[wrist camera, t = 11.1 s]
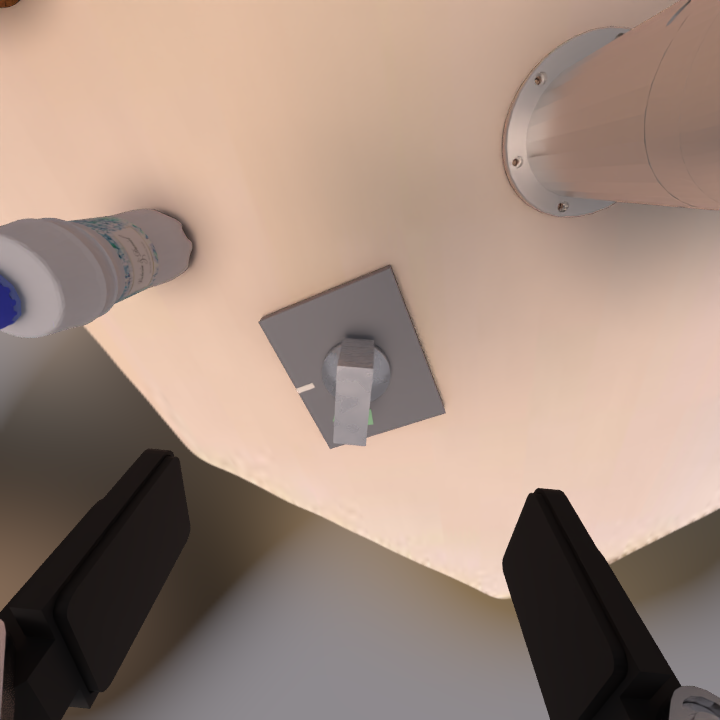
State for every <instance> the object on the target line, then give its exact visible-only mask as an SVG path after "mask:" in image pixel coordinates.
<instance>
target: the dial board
mask: <svg viewBox="0 0 720 720" xmlns="http://www.w3.org/2000/svg"><path fill="white" fill-rule="evenodd" d="M259 324H260V326H261V328H262V329H263V331H264V333H265V335H266V336H267V338H268V340H269V342H270V343H271V345H272V347H273V349H274V351H275V352H276V354H277V356H278V358H279V359H280V361H281V363H282V365H283V366H284V368H285V370H286V372H287V374H288V375H289V377H290V379H291V381H292V382H293V384H294V386H295V388H296V390H297V392H298V393H299V395H300V397H301V398H302V400H303V402H304V404H305V405H306V407H307V409H308V411H309V412H310V414H311V416H312V418H313V419H314V421H315V423H316V425H317V427H318V428H319V430H320V432H321V434H322V435H323V437H324V439H325V441H326V442H327V444H328V446H329V448H330V449H332V448H335V447H338V446H341V445H344V444H336V443H333V435H334V415H335V397H334V396H333V395H331V394H330V393H329V391H328V390H327V389H326V387H325V385H324V383H323V380H322V367H323V363H324V360H325V357H326V355H327V354H328V352H329V351H330V350H331V349H332V348H333V347H334V346H336V345H337V344H339V343H341V342H342V341H343V338H353V339H365V340H374V345H376V346H377V347H379V348H380V349H381V350H382V351H383V352H384V354H385V355H386V357H387V358H388V361H389V364H390V374H391V375H390V382H389V385H388V387H387V389H386V390H385V392H384V393H383V394H382V395H381V396H380V397H379V398H377V399H376V400H374V401H372V402H370V408H369V418H368V428H367V437H370V436H373V435H377V434H380V433H383V432H386V431H390V430H393V429H396V428H399V427H402V426H406V425H409V424H412V423H415V422H419V421H422V420H425V419H428V418H432V417H435V416H438V415H441V414H444V413H446V412H445V409H444V405H443V403H442V400H441V398H440V395H439V392H438V390H437V387H436V384H435V382H434V379H433V377H432V374H431V371H430V369H429V366H428V363H427V361H426V358H425V355H424V353H423V350H422V348H421V345H420V342H419V340H418V337H417V334H416V332H415V329H414V327H413V324H412V321H411V319H410V316H409V313H408V311H407V308H406V305H405V303H404V300H403V298H402V295H401V292H400V290H399V287H398V284H397V282H396V279H395V277H394V274H393V271H392V269H391V266H390V265H388V266H386V267H384V268H381V269H379V270H376V271H374V272H371V273H369V274H366V275H364V276H362V277H359V278H357V279H354V280H352V281H349V282H347V283H345V284H342V285H340V286H337V287H335V288H332V289H330V290H327V291H325V292H323V293H320V294H318V295H315V296H313V297H310V298H308V299H305V300H303V301H301V302H298V303H296V304H293V305H291V306H288V307H286V308H284V309H281V310H279V311H276V312H274V313H271V314H269V315H266V316H264V317H262V318H261V320H260V321H259Z"/></svg>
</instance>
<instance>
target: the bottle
mask: <svg viewBox="0 0 720 720" xmlns="http://www.w3.org/2000/svg"><path fill="white" fill-rule="evenodd" d="M191 251H192V242H191V241H190V240H189V239H188V238H187V237H186V235H185V234H184V232H183V230H182V224H181V223H180V222H179V221H178V220H176V219H175V218H172V217H170V216H167V215H165V214H162V213H160V212H158V211H156V210H153V209H140V210H133V211H128V212H124V213H120V214H116V215H112V216H105V217H97V218H89V219H81V220H73V221H65V220H61V219H57V218H41V219H32V218H31V219H21V220H17V221H14V222H12V223H9V224H6V225H3V226H0V331H3V332H5V333H8V334H11V335H14V336H18V337H24V338H37V337H42V336H46V335H50V334H52V333H56V332H60V331H63V330H67V329H70V328H74V327H78V326H83V325H86V324H88V323H90V322H92V321H93V320H95V319H96V318H98V317H100V316H102V315H104V314H105V313H107V312H108V311H109V310H110V309H111V308H112V306H113V305H114V304H115V303H117V302H120V301H122V300H124V299H126V298H128V297H130V296H133V295H135V294H137V293H139V292H141V291H143V290H145V289H147V288H150V287H153V286H157V285H160V284H163V283H165V282H168V281H171V280H173V279H175V278H176V277H178V276H179V275H181V274H182V273H183V272H184V271H185V270H186V269H187V268H188V266H189V257H190V253H191Z"/></svg>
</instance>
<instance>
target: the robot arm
mask: <svg viewBox="0 0 720 720" xmlns="http://www.w3.org/2000/svg"><path fill="white" fill-rule="evenodd" d="M535 78H539V84H538V85H536V83H535ZM514 159H516V160H517V164H516V165H515V166H513V165H512V161H513V160H514ZM503 160H504V166H505V171H506V174H507V176H508V179H509V181H510V184H511V186H512V187H513V189H514V190H515V192H516V193H517V195H518V196H519V197H520V198H521V199H522V200H523V201H524V202H525V203H526V204H527V205H529V206H531V207H532V208H534V209H536V210H538V211H539V212H543V213H546V214H549V215H553V216H558V217H579V216H584V215H589V214H593V213H595V212H598V211H600V210H603V209H605V208H608V207H609V206H611V205H613V204H614V203H616V202H627V203H638V204H650V205H661V206H672V207H684V208H695V209H706V210H720V0H680V1H678V2H677V3H675V4H673V5H672V6H670V7H668V8H667V9H665V10H663V11H662V12H660V13H658V14H657V15H655V16H653V17H652V18H650V19H648V20H647V21H645V22H643V23H642V24H640V25H638V26H637V27H635V28H633V29H630V28H625V27H613V26H610V27H604V28H597V29H592V30H590V31H587V32H584V33H582V34H579V35H577V36H575V37H573V38H571V39H570V40H568V41H566V42H565V43H563V44H561V45H560V46H558V47H557V48H556V49H554V50H553V51H552V52H551V53H549V54H548V55H547V56H546V57H545V58H544V59H543V60H542V61H541V62H540V63H539V64H538V65H537V66H536V67H535V68H534V69H533V70H532V71H531V73H530V74H529V75H528V77H527V78H526V79H525V81H524V82H523V84H522V85H521V86H520V88H519V90H518V92H517V94H516V96H515V98H514V100H513V102H512V104H511V107H510V110H509V113H508V116H507V119H506V123H505V128H504V134H503ZM559 203H561V207H560V208H559V209H558V205H559ZM189 533H190V521H189V515H188V509H187V503H186V497H185V491H184V485H183V479H182V472H181V466H180V461H179V458H178V457H174V454H173V452H172V451H168V450H159V449H147V450H145V451H144V452H143V453H142V454H141V456H140V457H139V458H138V459H137V460H136V461H135V463H134V464H133V465H132V466H131V467H130V468H129V470H128V471H127V472H126V473H125V474H124V475H123V476H122V477H121V479H120V480H119V481H118V482H117V483H116V484H115V486H114V487H113V488H112V489H111V490H110V491H109V492H108V494H107V495H106V496H105V497H104V498H103V499H101V500H99V501H98V502H97V503H96V504H95V505H94V506H93V507H92V508H91V509H90V510H89V512H88V513H87V514H86V515H85V516H84V517H83V518H82V520H81V521H80V522H79V523H78V524H77V525H76V527H75V528H74V529H73V530H72V531H71V532H70V533H69V534H68V536H67V537H66V538H65V539H64V540H63V541H62V542H61V544H60V545H59V546H58V547H57V548H56V549H55V550H54V551H53V553H52V554H51V555H50V556H49V557H48V558H47V559H46V561H45V562H44V563H43V564H42V565H41V566H40V567H39V569H38V570H37V571H36V572H35V573H34V574H33V575H32V577H31V578H30V579H29V580H28V581H27V582H26V583H25V585H24V586H23V587H22V588H21V589H20V590H19V591H18V593H17V594H16V595H15V596H14V597H13V598H12V599H11V601H10V602H9V603H8V604H7V605H6V606H5V607H4V608H3V610H2V611H1V612H0V720H61V719H62V717H63V715H64V714H65V712H66V710H67V709H68V707H79V708H88V709H90V708H91V705H92V704H93V702H94V700H95V698H96V697H97V695H98V693H99V692H104V691H105V690H106V689H107V688H108V687H109V685H110V684H111V682H112V681H113V679H114V677H115V675H116V673H117V671H118V669H119V668H120V666H121V664H122V662H123V660H124V658H125V656H126V654H127V653H128V651H129V649H130V647H131V645H132V643H133V641H134V639H135V638H136V636H137V634H138V632H139V630H140V628H141V626H142V624H143V623H144V621H145V619H146V617H147V615H148V613H149V611H150V609H151V607H152V605H153V604H154V602H155V600H156V598H157V596H158V594H159V592H160V590H161V589H162V587H163V585H164V583H165V581H166V579H167V577H168V576H169V574H170V571H171V570H172V568H173V566H174V564H175V562H176V560H177V559H178V557H179V555H180V553H181V551H182V549H183V547H184V545H185V544H186V542H187V539H188V536H189ZM502 566H503V573H504V576H505V579H506V582H507V585H508V589H509V592H510V595H511V598H512V601H513V604H514V607H515V611H516V614H517V617H518V620H519V623H520V626H521V629H522V632H523V636H524V639H525V642H526V645H527V648H528V651H529V654H530V658H531V661H532V664H533V667H534V670H535V673H536V676H537V680H538V682H539V686H540V688H541V692H542V695H543V698H544V702H545V705H546V708H547V711H548V714H549V717H550V720H720V698H719V697H717V696H715V695H714V694H712V693H710V692H709V691H707V690H704V689H701V688H698V687H695V686H681V685H680V683H679V681H678V680H677V678H676V676H675V675H674V673H673V671H672V670H671V668H670V666H669V665H668V663H667V661H666V660H665V658H664V656H663V655H662V653H661V651H660V650H659V648H658V646H657V645H656V643H655V641H654V640H653V638H652V636H651V635H650V633H649V631H648V630H647V628H646V626H645V625H644V623H643V621H642V620H641V618H640V616H639V615H638V613H637V611H636V610H635V608H634V606H633V604H632V603H631V601H630V600H629V598H628V596H627V595H626V593H625V591H624V590H623V588H622V586H621V585H620V583H619V581H618V579H617V578H616V576H615V575H614V573H613V571H612V569H611V568H610V566H609V564H608V563H607V561H606V559H605V558H604V556H603V555H602V554H601V552H600V551H599V550H598V549H597V547H596V545H595V544H594V542H593V540H592V539H591V537H590V535H589V534H588V532H587V530H586V529H585V527H584V525H583V524H582V522H581V520H580V519H579V517H578V515H577V513H576V512H575V510H574V508H573V507H572V505H571V503H570V502H569V500H568V498H567V497H566V495H565V494H564V492H562V491H561V490H553V489H543V488H537V489H536V490H535V492H534V493H530V494H529V495H528V497H527V499H526V502H525V504H524V507H523V509H522V512H521V514H520V517H519V519H518V522H517V524H516V527H515V529H514V532H513V534H512V537H511V539H510V542H509V544H508V547H507V549H506V552H505V554H504V557H503V562H502Z"/></svg>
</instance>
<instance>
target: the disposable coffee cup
mask: <svg viewBox="0 0 720 720" xmlns="http://www.w3.org/2000/svg"><path fill="white" fill-rule="evenodd" d="M18 1H19V0H0V8H2V7H9V6H12V5H14V4H16V3H17V2H18Z"/></svg>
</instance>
